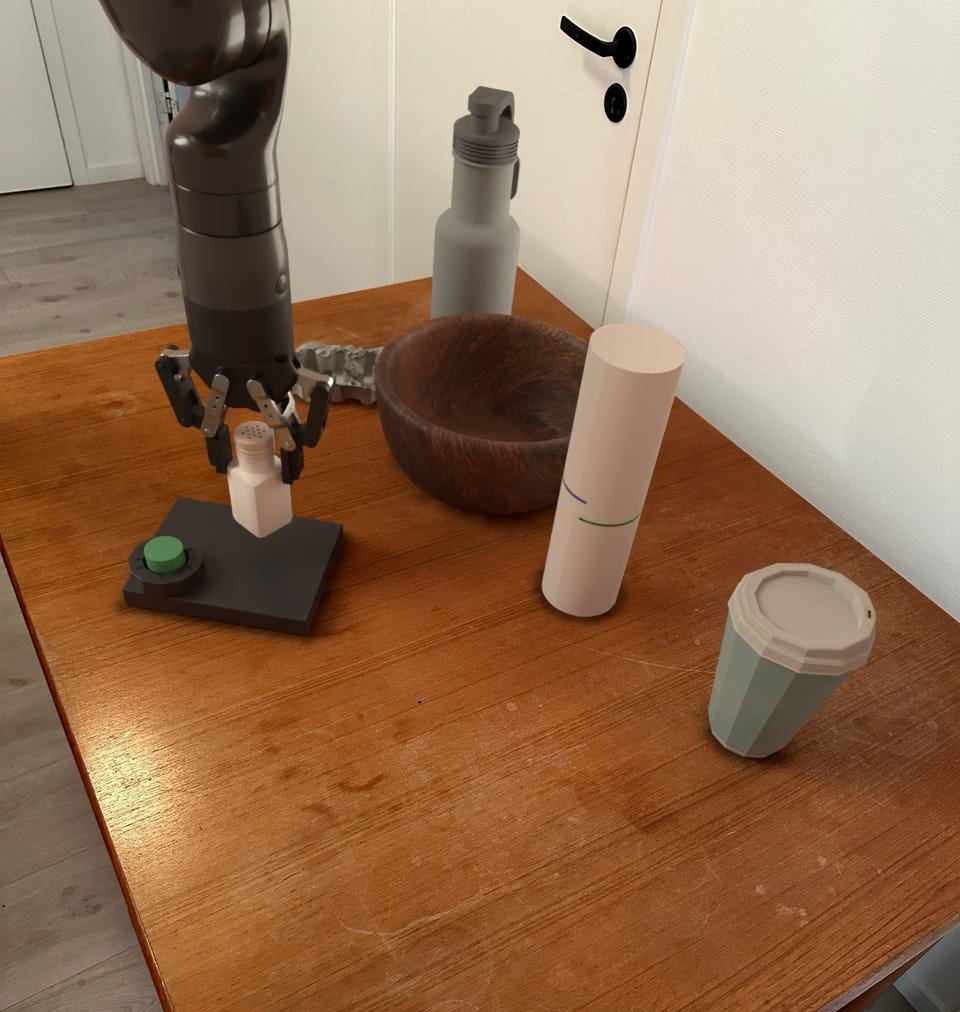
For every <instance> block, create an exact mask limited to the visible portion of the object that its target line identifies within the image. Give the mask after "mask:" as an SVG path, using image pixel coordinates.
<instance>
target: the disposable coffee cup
mask: <svg viewBox="0 0 960 1012" xmlns="http://www.w3.org/2000/svg"><path fill="white" fill-rule="evenodd" d="M727 606H728V607H727V608H728V613H727V617H726V622H725V627H724V631H723V637H722V640H721V641H722V642H721V646H720V651H719V657H718V660H717V664H716V670H715V675H714V679H713V685H712V688H711V689H712V690H711V694H710V698H709V704H708V709H707V715H708V721H709V724H710V730H711V735H713V736H714V737H715V739H716V740H717V741H718V742H719V743H720V744H721V745H722V746H723V748H724V749H727V750H729V751H731V752H732V753H735V754H737V755H739V756H741V757H743V758H754V759H756V758H757V759H764V758H766V757H768V756H770V755H773V754H775V753H776V752H778V751H780V750H782V749H784V748H785V747H786V746H787V745H788V744H789V743H790V742H791V741H792V739H793V738H794V737H795V736H796V735H797V734H798V733H799V731H801V729H802V728H803V727H804V726H805V725H806V724H807V723H808V721H810V719H811V718H812V717H813V716H814V715H815V714H816V712H818V711H819V709H820V708H821V707H823V706H824V704H825V703H826V702H827V701H828V699H829V698H830V697H832V695H833V694H834V693H835V692H836V691H837V689H838V688H839V687H840V686H841V685H842V684H843V683H844V681H846V679H847V678H848V677H849V676H850V675H851V674H852V673H853V672H854V670H855V669H857V668H859V667H861V666H863V665H866V663H867V661H868V658H869V656H870V653H871V651H872V648H873V645H874V641H875V638H876V623H877V612H876V610H875V607H874V605H873V603H872V599H870V595H869V594H868V592H867V591H866V590H864V589H863V588H862V587H860V586H859V585H857V584H856V583H855V582H853V581H852V580H851V579H849V578H848V577H847V576H845V575H844V574H843V573H840V572H837V571H833V570H830V569H827V568H824V567H821V566H818V565H815V564H812V563H802V562H801V563H795V562H776V563H774V564H771V565H768V566H766V567H763V568H760V569H757V570H755V571H751V572H749V573H747V574H744V575H743V577H742V578H741V581H740V582H738V584H737V586H736V587H735V589H734V591H733V593H732V595H731V596H730V598H729V600H728V601H727Z"/></svg>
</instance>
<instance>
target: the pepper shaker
mask: <svg viewBox="0 0 960 1012" xmlns="http://www.w3.org/2000/svg"><path fill="white" fill-rule="evenodd" d="M232 435H233V442H234V450H235V451H234V452H235V454H236V456H237V457H235V458H233V460H232V461H231V462H229V464H228V465H227V473H226V476H227V482H228V490H229V497H230V505H232V511H233V516H234V519H235V520H236V521H237V522H238V523H239V524H241V525H242V526H243V527H245V528H246V529H247V530H249V531H250V532H251V533H252V534H254V535H255V536H256V537H259V538H262V537H265V536H267V535H269V534H271V533H272V532H274V531H276V530H278V529H279V528H281V527H283V526H285V525H287V524H288V523H290V521H291V520H292V516H293V509H292V508H293V507H292V495H291V494H292V493H291V485H288V484H283V480H282V468H281V458H279V457H278V456H277V455H275V453H276V443H275V431H274V430H273V429H270V428H269V427H268V425H267V423H266V422H264V421H260V420H259V421H256V420H250V421H246V422H242V423H240V424H239V425H237V426H236V427H235V428H234V431H233V434H232Z"/></svg>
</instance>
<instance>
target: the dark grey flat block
mask: <svg viewBox="0 0 960 1012" xmlns="http://www.w3.org/2000/svg"><path fill="white" fill-rule="evenodd" d="M161 536H171V537H175V538H177V539H179V540H180V541H181V542H182V544H183V548H184V553H185V557H186V562H185V564H184V566H183V567H182V568H181V569H180V570H178V571H176V572H174V573H168V574H158V573H155V572H153V571H151V570H150V569H149V568H148V566H147V562H146V558H145V554H144V548H145V545H146V544H147V543H148V542H149V541H151V540H152V539H154V538H157V537H161ZM343 541H344V524H343V523H339V522H335V521H334V522H332V521H327V520H321V519H314V518H311V517H310V518H309V517H304V516H297V515H292V520H291V521H290V523H288V524H287V525H285V526H283V527H281V528H279V529H278V530H276V531H274V532H272V533H271V534H269V535H267V536H265V537H262V538H259V537H256V536H255V535H254V534H252V533H251V532H250V531H249V530H247V529H246V528H245V527H243V526H242V525H241V524H239V523H238V522H237V521H236V520H235V519H234V516H233V511H232V504H226V503H221V502H214V501H207V500H201V499H195V498H189V497H185V496H184V497H183V496H177V498H176V499H175V501H174V503H173V505H172V506H171V508H170V510H168V513H167V515H166V516H165V518H164V520H163V521H162V523H161V524H160V526H159V528H158V529H157V531H156V532H155V534H154V536H153V537H149V538H148V539H146V540H144V541H142V542H141V543H139V544H138V545H136V546H135V547H134V548H133V550H132V552H131V553H130V555H129V557H128V558H127V564H128V568H129V572H130V573H129V574H130V576H129V577H128V579H127V581H126V582H125V584H124V586H123V587H122V589H121V592H122V596H123V599H124V602H125V603H124V604H125V605H126V606H129V607H136V608H142V609H147V610H153V611H159V612H165V613H171V614H177V615H183V616H187V617H193V618H194V617H195V618H200V619H205V620H211V621H217V622H223V623H229V624H235V625H239V626H246V627H250V628H256V629H257V628H258V629H262V630H263V629H264V630H269V631H275V632H281V633H287V634H291V635H292V634H293V635H299V636H305V637H306V636H307V635H308V632H309V630H310V627H311V625H312V622H313V619H314V616H315V614H316V611H317V608H318V607H319V604H320V601H321V598H322V596H323V593H324V591H325V588H326V586H327V582H328V580H329V577H330V574H331V572H332V570H333V568H334V565H335V561H336V559H337V557H338V554H339V551H340V549H341V547H342V544H343Z"/></svg>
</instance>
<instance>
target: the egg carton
mask: <svg viewBox="0 0 960 1012" xmlns="http://www.w3.org/2000/svg"><path fill="white" fill-rule="evenodd" d="M384 347H385V345H382V346H379V347H368V348H363V347H361V346H359V347H358V348H356V347H354V345H353V344H348V345H338V344H332V345H329V344H325V343H323V342H320V341H319V342H318V341H315V340H314V341H311V340H310V341H307V342H305V343H302V344H301V345H299V346H298V347H296V348H295V349H294V351H295V353H296V356H297V357H298V359H299V361H300V363H301V366H302V368H305V369H308V370H311V371H313V372H316V373H319V374H321V373H322V371H324V370H326V369H329V370H331V371H333V372H334V373H335V374H336V383H335V387H334V391H333V395H332V400H331V403H343V402H344V401H345V400H347V399H355V400H358V401H360V402H361V404H362V405H366V406H370V405H372V404H373V403H374V402H377V397H376V390H375V379H374V372H375V367H376V363H377V360H378V357H379V354H380V353H381V351H382V349H383V348H384ZM291 390H292V392H291V394H292V395H296V396H298V397H300V398H301V400H303V401H306V400H305V397H304V395H303V389H302V387H301V386H300V385H299V384H297V383H296V384H295V385H294V386H293V387H292V389H291Z"/></svg>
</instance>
